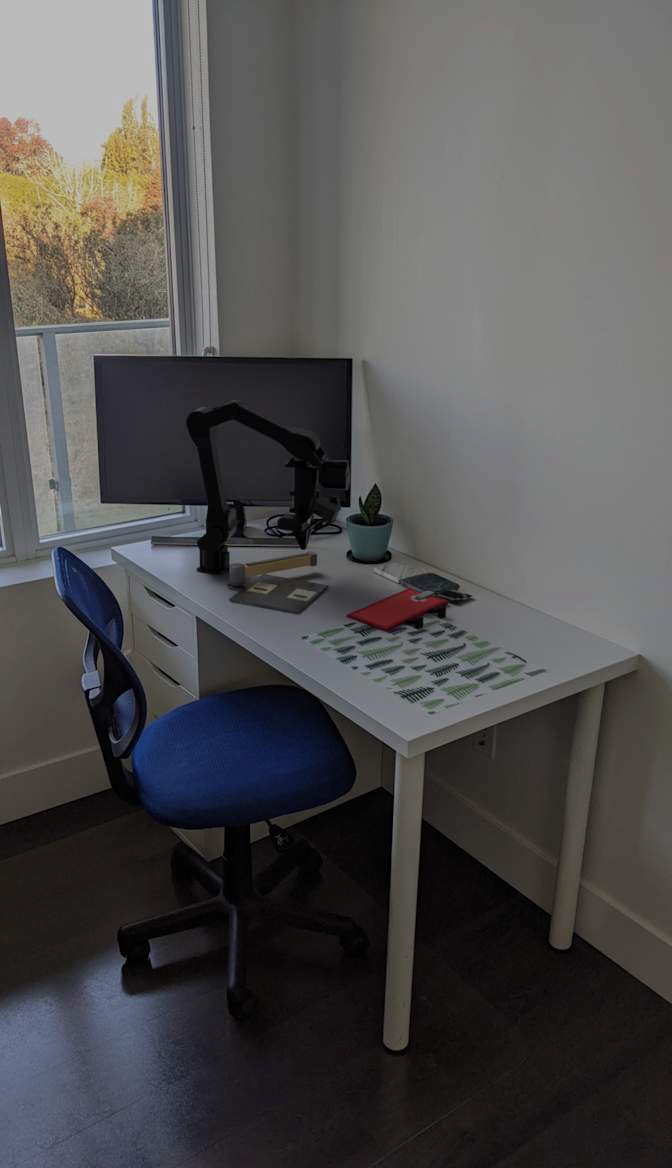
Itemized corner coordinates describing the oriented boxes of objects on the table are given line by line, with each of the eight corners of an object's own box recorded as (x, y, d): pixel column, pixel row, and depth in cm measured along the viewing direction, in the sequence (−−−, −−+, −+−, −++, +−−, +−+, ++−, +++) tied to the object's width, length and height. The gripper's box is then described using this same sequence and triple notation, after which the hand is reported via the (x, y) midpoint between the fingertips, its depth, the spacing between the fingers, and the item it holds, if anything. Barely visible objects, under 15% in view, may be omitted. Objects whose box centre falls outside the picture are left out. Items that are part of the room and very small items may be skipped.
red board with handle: (479, 601, 212) (427, 585, 222) (480, 590, 211) (428, 574, 221) (399, 640, 191) (346, 620, 201) (400, 627, 190) (346, 608, 200)
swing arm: (234, 587, 212) (234, 569, 211) (227, 582, 215) (226, 564, 214) (317, 571, 225) (318, 554, 223) (309, 566, 227) (310, 550, 226)
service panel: (210, 597, 208) (210, 593, 208) (245, 573, 224) (245, 569, 223) (298, 613, 201) (298, 610, 201) (328, 587, 217) (328, 583, 216)
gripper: (322, 500, 203) (320, 566, 208) (350, 481, 219) (348, 543, 225) (276, 493, 206) (275, 559, 212) (308, 476, 223) (306, 536, 228)
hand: (303, 549), depth 219 cm, fingers closed
